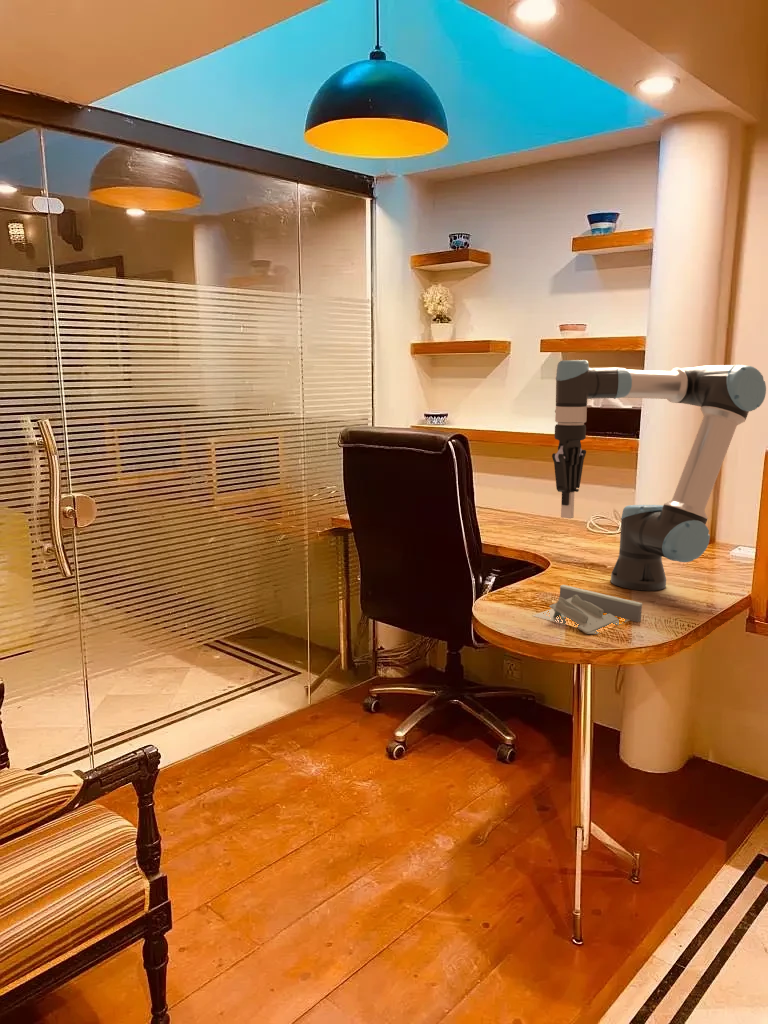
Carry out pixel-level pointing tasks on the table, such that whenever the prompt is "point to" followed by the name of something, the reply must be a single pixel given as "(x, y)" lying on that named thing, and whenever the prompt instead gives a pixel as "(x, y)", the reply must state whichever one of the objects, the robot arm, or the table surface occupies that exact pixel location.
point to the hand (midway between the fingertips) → (567, 517)
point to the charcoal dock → (598, 604)
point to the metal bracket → (583, 614)
